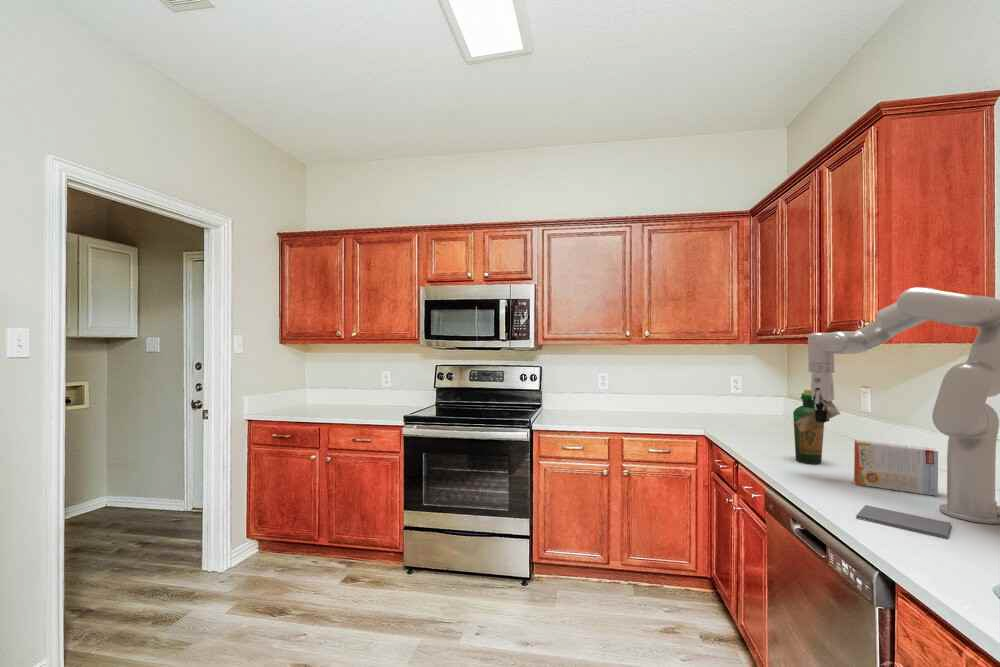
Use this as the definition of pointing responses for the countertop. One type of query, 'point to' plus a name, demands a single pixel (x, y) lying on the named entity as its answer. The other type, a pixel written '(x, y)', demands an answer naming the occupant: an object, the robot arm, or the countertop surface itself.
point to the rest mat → (905, 521)
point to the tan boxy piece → (810, 419)
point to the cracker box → (896, 467)
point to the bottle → (808, 433)
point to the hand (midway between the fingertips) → (822, 420)
